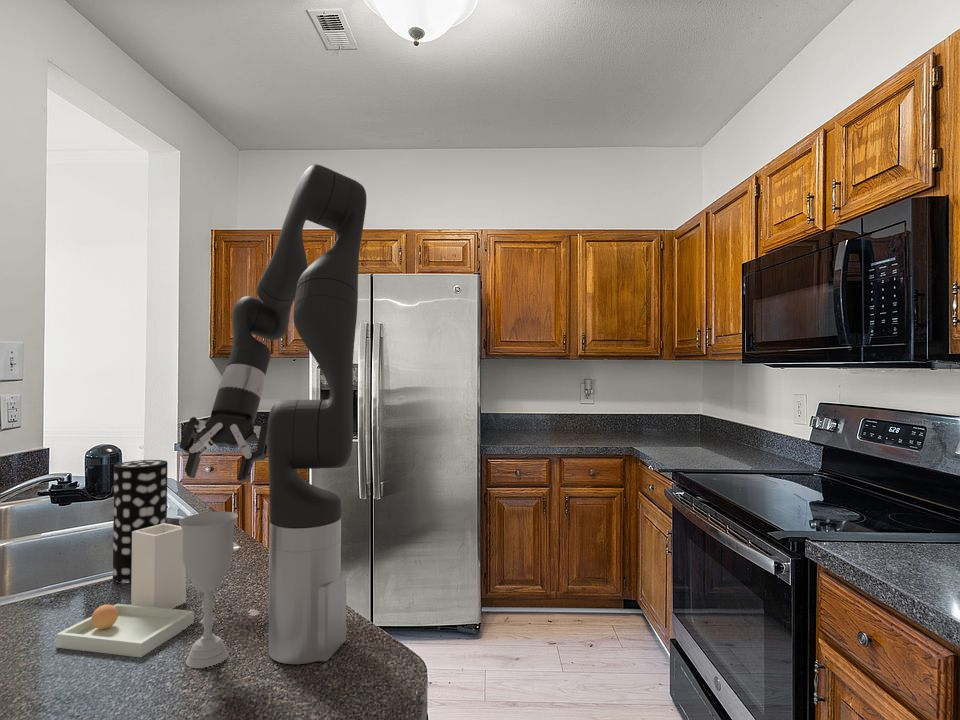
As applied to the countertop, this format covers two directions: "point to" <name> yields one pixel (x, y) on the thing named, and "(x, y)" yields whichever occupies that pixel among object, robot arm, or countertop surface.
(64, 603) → the countertop surface
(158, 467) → the white-spotted black cylinder
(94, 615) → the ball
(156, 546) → the cup
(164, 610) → the tray
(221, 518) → the chalice
